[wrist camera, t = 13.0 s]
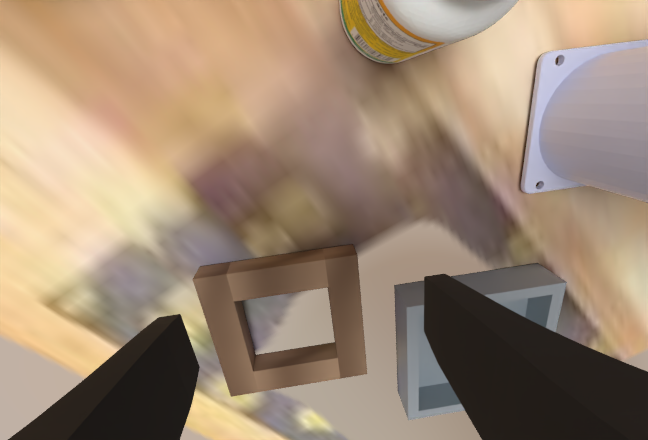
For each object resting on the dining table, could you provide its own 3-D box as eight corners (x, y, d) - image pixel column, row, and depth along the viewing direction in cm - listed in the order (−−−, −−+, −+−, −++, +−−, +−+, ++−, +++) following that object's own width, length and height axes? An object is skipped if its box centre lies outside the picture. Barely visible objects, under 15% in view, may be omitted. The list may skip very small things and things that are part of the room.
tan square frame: (352, 243, 20) (357, 254, 18) (362, 357, 24) (367, 373, 22) (199, 266, 19) (192, 279, 18) (234, 378, 23) (231, 396, 22)
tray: (537, 263, 22) (566, 282, 20) (518, 370, 26) (541, 397, 23) (394, 285, 21) (406, 307, 19) (397, 390, 25) (408, 420, 23)
